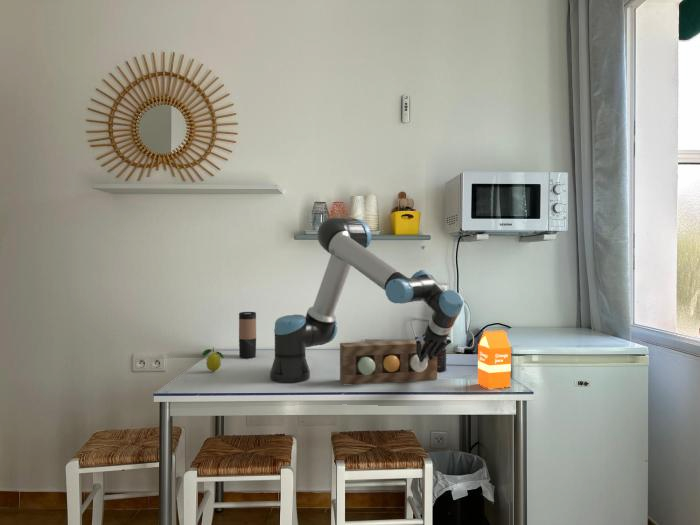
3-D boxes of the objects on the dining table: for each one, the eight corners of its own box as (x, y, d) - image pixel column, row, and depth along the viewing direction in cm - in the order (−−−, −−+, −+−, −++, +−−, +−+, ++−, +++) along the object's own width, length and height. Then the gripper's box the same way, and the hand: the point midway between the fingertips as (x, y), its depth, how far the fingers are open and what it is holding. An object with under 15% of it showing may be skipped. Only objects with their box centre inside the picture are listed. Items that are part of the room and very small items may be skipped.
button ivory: (412, 372, 189) (412, 356, 188) (409, 370, 191) (409, 354, 191) (427, 371, 190) (427, 355, 190) (424, 369, 193) (424, 353, 193)
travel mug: (258, 355, 235) (258, 311, 234) (253, 359, 228) (253, 314, 227) (242, 354, 236) (241, 311, 235) (236, 358, 228) (236, 313, 228)
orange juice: (510, 387, 184) (511, 332, 183) (488, 389, 181) (489, 333, 180) (498, 382, 191) (499, 328, 190) (477, 383, 188) (477, 329, 188)
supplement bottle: (428, 367, 213) (428, 339, 212) (444, 368, 212) (445, 339, 212) (430, 372, 206) (430, 342, 205) (447, 372, 205) (447, 342, 205)
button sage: (359, 375, 184) (359, 358, 184) (357, 373, 187) (357, 357, 187) (375, 374, 186) (375, 358, 185) (373, 372, 188) (373, 356, 188)
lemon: (201, 372, 203) (201, 347, 203) (212, 369, 208) (211, 345, 208) (214, 374, 200) (214, 349, 200) (224, 371, 205) (224, 346, 205)
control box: (343, 384, 186) (343, 346, 186) (339, 379, 193) (340, 342, 193) (437, 379, 194) (437, 342, 194) (430, 375, 201) (430, 339, 200)
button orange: (384, 372, 189) (384, 356, 189) (381, 370, 192) (381, 354, 192) (399, 371, 190) (399, 355, 190) (397, 369, 193) (397, 353, 193)
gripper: (423, 337, 167) (406, 375, 184) (460, 335, 170) (440, 373, 187) (418, 318, 172) (402, 357, 189) (454, 317, 175) (435, 355, 192)
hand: (421, 365), depth 188 cm, fingers closed
